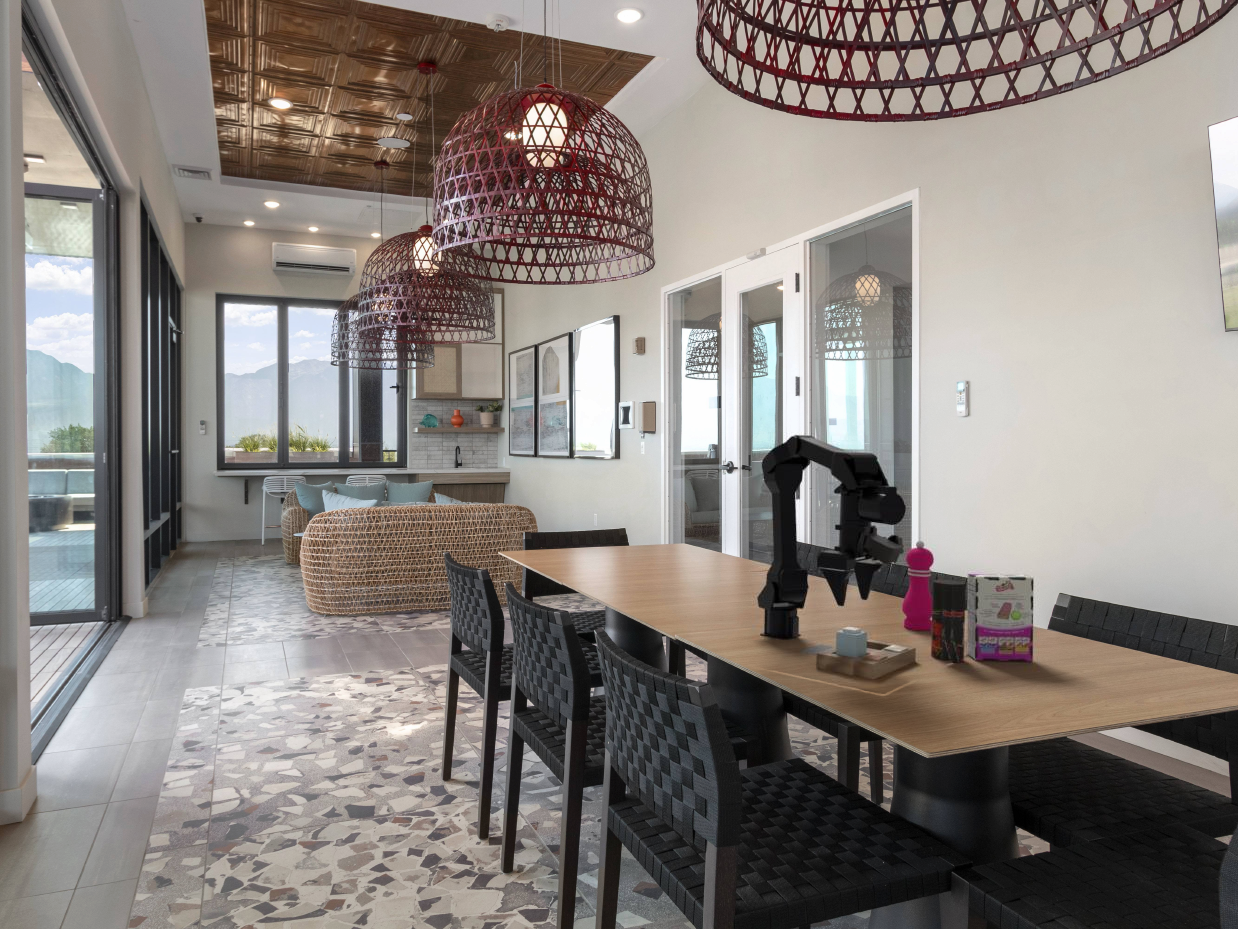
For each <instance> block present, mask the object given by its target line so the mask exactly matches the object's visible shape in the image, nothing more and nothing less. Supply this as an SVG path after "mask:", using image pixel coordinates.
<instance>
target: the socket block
mask: <svg viewBox="0 0 1238 929" xmlns="http://www.w3.org/2000/svg"><path fill="white" fill-rule="evenodd" d="M833 647H834V648H831V649H828V650H825V651H822V652H819V653H817V655H815V656H816V657H815V658H816V661H815V662H816V664H815V665H816V666H815V668H817V669H821V670H826V671H829V672H834V673H835V672H836V673H840V674H845V675H850V676H855V677H860V678H864V679H869V680H875V679H878V678H880V677H882V676H884V675H888V674H890V673H892V672H894V671H896V670H899V669H902V668H904V667H906V666H908V665H910V664H913V663H915V662H916V658H917V655H916V654H917V652H916V650H917V648H916V647H914V646H907V645H903V644H898V643H891V642H886V641H880V640H875V639H869V638H867V651H866V655H865V656H862V657H861V658H852V657H847V656H842V655H837V654H836V646H833Z"/></svg>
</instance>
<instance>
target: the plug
mask: <svg viewBox="0 0 1238 929" xmlns="http://www.w3.org/2000/svg"><path fill="white" fill-rule="evenodd" d="M835 633H836V634H835V636H836V637H835V647H836V654H837V655H842V656H847V657H852V658H861V657H862V656H865V655H866V651H867V639H868V632H867V631H862V628H859V627H852V626H846V627H843V628H842V629H841V630H838V631H836V632H835Z"/></svg>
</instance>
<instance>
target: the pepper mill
mask: <svg viewBox="0 0 1238 929" xmlns="http://www.w3.org/2000/svg"><path fill="white" fill-rule="evenodd" d="M915 545H916V547H913V548H911V549H909V551H907V553H906V556H905V561H906V565H908V566H909V568H907V570H908V573H907V575H908V576H909V587H908V590H907V593H906V595H905V597H904V598H903V602H902V605H901V606H902V607H901V610H902V612H903V614H904V616H905V618H903V627H904V628H905V629H908V630H912V631H913V630H914V631H932V594H931V591H930V585H929V584H930V581H929V580H930V577H931V576H932V573H931V572H932V570H931V567H932V566H933V564H934V560H935V559H934V555H933V553H932V551H930V549H928V548H925V543H924V541H922V540H919V541H917V542H916V543H915Z"/></svg>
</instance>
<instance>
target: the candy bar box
mask: <svg viewBox="0 0 1238 929" xmlns="http://www.w3.org/2000/svg"><path fill="white" fill-rule="evenodd" d="M1034 584H1035V583H1034V577H1032V576H1030V575H1026V574H1012V573H1011V574H1010V573H1009V574H1006V573H1004V574H1003V573H1001V574H999V573H997V574H996V573H995V574H994V573H988V574H987V573H967V600H966V601H967V606H966V607H967V611H966V612H967V614H966V615H967V616H966V618H967V621H966V623H967V624H966V625H967V629H966V633H967V634H966V635H967V636H966V641H967V642H966V644H967V645H966V647H967V648H966V649H967V650H966V653H967V654H966V655H967V656H968V657H970V658H971V659H973V660H975V661H981V662H983V661H985V662H1030V663H1031V662H1033V660H1034V654H1033V653H1034Z"/></svg>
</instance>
